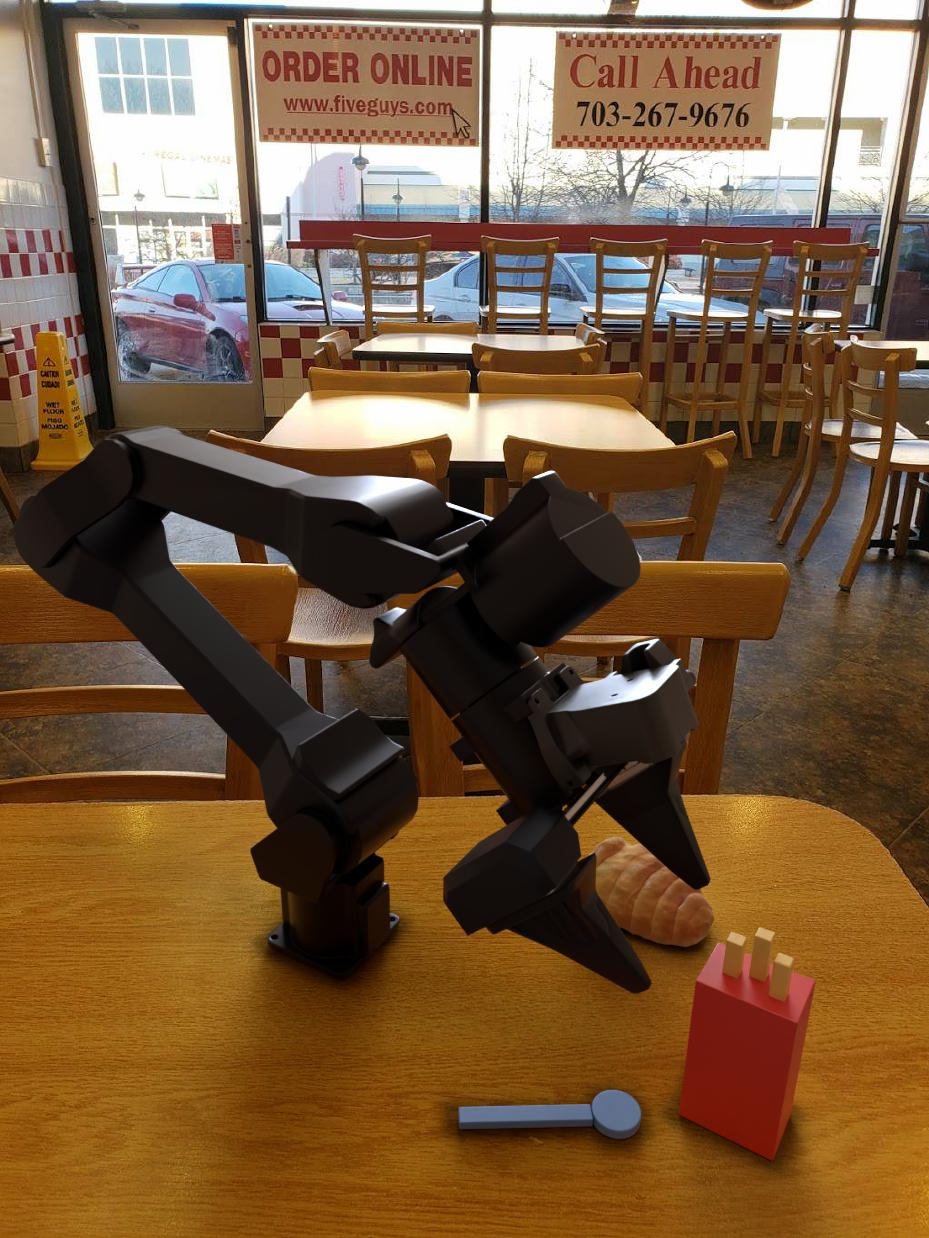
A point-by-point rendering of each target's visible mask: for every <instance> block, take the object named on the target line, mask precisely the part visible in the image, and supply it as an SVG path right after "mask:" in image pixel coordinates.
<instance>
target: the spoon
mask: <svg viewBox="0 0 929 1238" xmlns="http://www.w3.org/2000/svg"><path fill="white" fill-rule="evenodd" d="M457 1113H458V1129H459V1130H489V1129H490V1130H491V1129H492V1130H493V1129H494V1130H495V1129H534V1128H535V1129H537V1128H541V1129H542V1128H577V1127H578V1128H582V1127H583V1128H584V1127H585V1128H586V1127H593V1125H594V1127H595V1128H596V1130H597V1131H598V1132H599V1133H601V1134H602V1135H604V1136H606V1137H607V1138H610V1139H614V1140H624V1139H628V1138H631V1137H633V1136H634V1135H635V1134H637V1132H638V1131H639V1129H640V1128H641V1122H642V1110H641V1107H640V1105H639V1103H638V1101H637V1100H636V1099H635V1098H634V1097H633V1096H631V1095H630V1094H629V1093H627V1092H624V1091H622V1090H618V1089H606V1090H603V1091H601V1092H600V1093H598V1094H597V1095H596V1096H595V1097H594V1098H593V1100H592V1102H591V1104H590V1103H584V1104H583V1103H582V1104H577V1103H576V1104H539V1105H538V1104H537V1105H536V1104H535V1105H495V1106H494V1105H493V1106H487V1105H486V1106H458V1112H457Z"/></svg>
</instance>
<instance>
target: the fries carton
mask: <svg viewBox="0 0 929 1238" xmlns="http://www.w3.org/2000/svg"><path fill="white" fill-rule="evenodd" d="M775 938H776V932H775V931H771V930H770V929H767V928H763V927H761V926H760V927H758V929H757V931H756V933H755V934H754V939H753V946H752V951H751V954H749V953H746V948H747V941H748V937H746V936H744V935H741V934H739V933H737V932H734V931H731V932H730V933H729V935H728V938H727V939H726V941H725V942H726V943H724V944H723V943H721V942H718V943H716V946H715V947H714V949H713V951H712V952H711V954H710V955H709V957H708V959H707V960H706V963H705V964H704V966H703V967H702V969H701V971H700V973H699V975H698V977H697V978H696V980H695V984H694V991H693V992H694V993H693V999H692V1008H691V1015H690V1023H689V1032H688V1038H687V1045H686V1053H685V1063H684V1070H683V1078H682V1086H681V1093H680V1101H679V1108H678V1109H679V1110H678V1115H679V1116H680V1117H682V1118H684V1119H687V1120H688V1121H691V1122H692V1123H695V1124H697V1125H699V1126H701V1127H703V1128H705V1129H707V1130H708V1131H711V1132H713V1133H715V1134H716V1135H719V1136H721V1137H723V1138H725V1139H727V1140H729V1141H731V1142H733V1143H735V1144H737V1145H739V1146H741V1147H743V1148H745V1149H747V1150H749V1151H751V1152H752V1153H755V1154H757V1155H760V1156H761V1157H763V1158H766V1159H767V1160H769V1161H771V1162H772V1161H773V1162H774V1160H775V1157H776V1154H777V1152H778V1149H779V1147H780V1143H781V1142H782V1139H783V1137H784V1133H785V1131H786V1129H787V1125H788V1123H789V1120H790V1117H791V1115H792V1111H793V1105H794V1099H795V1095H796V1090H797V1083H798V1078H799V1072H800V1069H801V1062H802V1057H803V1051H804V1046H805V1040H806V1035H807V1031H808V1024H809V1019H810V1013H811V1008H812V1003H813V999H814V998H813V997H814V992H815V987H816V983H817V982H816V980H815V979H814V978H810V977H808V976H806V975H802V974H800V973H798V972H795V971H794V964H795V958H794V957H791V956H789V955H787V954H784V953H782V952H778V953H777V954H776V956H775V959H774V961H773V963H772V957H773V951H774V945H775Z"/></svg>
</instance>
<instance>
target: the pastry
mask: <svg viewBox="0 0 929 1238" xmlns="http://www.w3.org/2000/svg"><path fill="white" fill-rule="evenodd" d="M593 853H596V856H597V862H596V892H597V894H598V896H599V897H600V898H601V900H602V902H603V903H604V905H605V906H606V908H607V909H608V911H609V912H610V914H611V915H612V917H613V918H614V920H615V922H616V923H617V925H618V926H619V928H620V929H624V930H625V931H627V932H629V933H630V934H632V935H633V936H634V935H637V936H639V937H641V938H642V939H643V940H649V941H650V942H653V943H656V944H662V945H666V946H667V945H668V946H669V945H672V946H679V947H683V948H687V947H690V946H694V945H696V944H698V943H699V942H701V941H702V940H703V939H705V938H706V937H707V935H708V933H709V931H710V929H711V927H712V925H713V923H714V921H715V915H714V912H713V907H712V906H711V905H710V903H709V902H708V900H707V899H706V898H705V896H704V895H703V893H702V890H701V889H699V890H694V889H693V888H691V887H690V886H689V885H688V884H686V883H685V882H684V881H682V880H681V879H680V878H679V877H677V876H676V875H675V874H674V873H672V872H671V871H670V870H669V869H668V868H667V867H666V866H665V865H663V864H662V863H661V862H660V861H659V860H658V859H657V858H656V857H655V856H654V855H653V854H651V853H650V852H649V851H648V850H647V849H646V848H645V847H644V846H643V845H642V844H640V843H636V844H634V845H632V844H630V843H629V842H627V841H626V840H625V839H624V838H623V837H620V836H612V837H608V838H606V839H605V840H603V841H601V842H599V843H598V844H596V846H595V847H594V849H593V850H592V852H590V853H589V854H588V855H587V856H589V855H591V854H593Z"/></svg>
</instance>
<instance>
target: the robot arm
mask: <svg viewBox="0 0 929 1238" xmlns="http://www.w3.org/2000/svg"><path fill="white" fill-rule="evenodd" d="M171 513H174V514H176V515H179V516H182V517H184V518H188V519H190V520H193V521H196V522H199V523H201V524H204V525H207V526H210V527H212V528H216V529H219V530H221V531H223V532H224V531H225V532H227V533H230V534H233V535H235V536H237V537H240V538H243V539H247V540H250V541H252V542H255V543H258V544H259V545H260V544H261V545H263V546H266V547H268V548H271V549H273V550H275V551H277V552H279V553H280V554H282V555H284V556H285V557H287V559H288V560H289V562H290V564H291V565H292V567H293V568H294V570H295V571H296V573H297V575H298V576H299V577H300V578H301V579H302V580H304V581H305V582H307V583H309V584H310V585H312V586H314V587H315V588H316V589H318V590H321V591H322V592H324V593H326V594H328V595H329V596H331V597H333V598H334V599H336V600H338V601H339V602H341V603H342V604H345V605H347V606H349V607H351V608H355V609H360V610H369V609H373V608H374V609H375V608H376V607H379V606H380V605H383V604H385V603H387V602H390V601H392V600H393V599H395V598H397V597H400V596H402V595H416V594H419V593H421V592H423V591H425V590H427V589H428V588H430V589H429V590H427V591H425V592H424V594H423V595H421V596H420V597H419V598H418V599H417V600H416V601H415V602H413V604H412V605H410V606H409V607H408V608H407V609H404V608H400V607H397V606H396V607H393V608H392V609H389V610H387V611H386V612H383V613H382V614H380V615H377V616H375V617H374V618H373V619H372V626H373V636H372V637H373V639H372V642H371V645H370V650H369V657H368V658H369V660H368V661H369V665H370V667H372V668H373V669H375V670H378V669H380V668H382V667H384V666H385V665H386V664H389V663H391V662H393V661H394V660H395V659H397V658H399V657H400V656H403V657H404V659H405V660H406V662H407V663H408V665H409V666H410V667H411V668H412V669H413V671H414V673H415V674H416V675H417V676H418V678H419V679H420V681H421V682H422V683H423V685H424V686H425V687H426V689H427V691H429V693H430V694H431V696H432V697H433V698H434V699H435V701H436V702H437V704H438V705H439V707H440V708H441V709H442V711H443V712H444V713H445V715H446V716H447V717H448V719H449V720H451V719H452V720H451V721H450V722H451V723H452V724H453V726H454V728H455V729H456V730H457V731H458V733H459V734H460V735H461V736H460V737H459V738H458V739H456V740H455V741H454V742H453V743H452V744H450V745H449V746H448V747H449V749H450V750H451V751H452V753H453V755H454V756H455V757H456V758H457V760H458V761H459V762H460V763H461V762H463V761H465V759H467V758H469V757H470V756H472V755H473V754H475V756H476V757H477V758H478V760H479V762H480V763H481V764H482V765H483V767H484V768H485V770H486V771H487V772H488V773H489V775H490V776H491V778H492V779H493V780H494V782H495V784H497V786H498V787H499V789H500V790H501V791H502V793H503V794H504V795H505V797H506V798H507V799H506V800H505V801H504V802H503V803H502V804H501V805H500V806H499V807H498V808H497V809H496V810H495V812H496V813H497V815H498V816H499V817H500V818H501V820H502V821H503V823H504V824H505V826H503V827H501V828H500V829H498V830H497V831H494V832H493V833H491V834H490V835H487V836H486V837H485V838H483V839H481V840H480V841H478V842H477V844H475V846H473V847H472V848H471V849H470V850H469V851H468V852H467V854H465V855H464V856H463V857H462V858H461V860H459V861H458V862H457V863H456V864H455V865H454V866H453V867H452V868H451V869H450V870H449V871H448V872H447V873H446V874H445V875H444V876H443V877H442V878H443V879H442V901H443V904H444V905H445V907H446V908H447V909H448V910H449V912H450V913H451V915H452V917H454V919H455V920H456V922H457V923H458V925H459V926H460V927H461V929H462V930H463V932H464V933H465V934H466V936H467V937H468V936H471V935H473V934H474V933H476V932H479V931H480V930H482V929H485V928H486V930H487V931H488V932H489V933H490V934H491V935H497V934H499V933H501V932H503V931H505V930H507V931H509V932H511V933H514V934H516V935H518V936H521V937H523V938H525V939H528V940H530V941H531V942H534V943H536V944H539V945H541V946H544V947H545V948H548V949H550V950H552V951H554V952H556V953H558V954H559V955H562V956H564V957H566V958H568V959H570V960H571V961H573V962H574V963H577V964H578V965H580V966H583V967H584V968H585V969H588V970H589V971H591V972H593V973H595V974H597V975H598V976H600V977H602V978H604V979H605V980H608V981H609V982H611V983H613V984H615V985H617V986H618V987H620V988H622V989H623V990H625V991H627V992H629V993H631V994H633V995H638V994H641V993H644V992H646V991H648V990H649V989H651V986H652V984H653V983H652V979H651V977H650V975H649V973H648V972H647V970H646V968H645V966H644V964H643V963H642V960H641V959H640V957H639V955H638V954H637V953H636V951H635V949H634V947H633V946H632V944H631V943H630V941H629V940H628V938H627V937H626V935H625V934H624V932H623V930H622V928H619V926H618V925H617V923H616V922H615V920H614V918H613V917H612V915H611V914H610V912H609V911H608V909H607V908H606V906H605V905H604V903H603V902H602V900H601V898H600V897H599V896H598V894H597V892H596V862H597V856H596V853H593V854H591V853H590V854H591V855H589V854H588V855H589V856H588V855H586V856H585V857H583V858H582V851H581V850H582V849H581V843H580V837H579V832H578V831H577V830H576V829H575V827H574V826H575V825H576V824H577V823H578V822H579V820H580V819H581V818H582V817H583V816H584V815H585V813H586V812H588V810H589V809H590V808H591V806H592V805H593V804H594V803H595V804H596V805H597V806H598V807H599V808H601V809H602V810H603V811H604V812H605V813H606V814H607V815H608V816H609V817H610V818H611V819H613V820H614V821H615V822H616V823H617V824H618V825H619V826H621V828H623V829H624V830H625V831H626V832H627V833H628V834H629V835H630V836H631V837H633V838H634V839H635V841H637V842H638V844H642V845H643V846H644V847H645V848H646V849H647V850H648V851H649V852H650V853H651V854H653V855H654V856H655V857H656V858H657V859H658V860H659V861H660V862H661V863H662V864H663V865H665V866H666V867H667V868H668V869H669V870H670V871H671V872H672V873H674V874H675V875H676V876H677V877H679V878H680V879H681V880H682V881H684V882H685V883H686V884H688V885H689V886H690V887H691V888H693V889H694V890H699V889H700V890H701V889H703V888H705V887H707V886H709V885H710V883H711V881H712V880H711V876H710V872H709V870H708V867H707V864H706V861H705V859H704V856H703V853H702V851H701V848H700V845H699V842H698V840H697V836H696V835H695V832H694V829H693V825H692V823H691V820H690V818H689V815H688V812H687V808H686V807H685V803H684V800H683V797H682V793H681V790H680V786H679V774H680V768H681V764H682V759H683V755H684V752H685V751H686V748H687V739H686V737H687V735H689V733H690V732H694V731H696V729H697V728H698V726H699V721H698V718H697V715H696V712H695V708H694V706H693V704H692V700H691V698H690V695H689V692H690V691H691V690H692V689H693V687H694V686H695V685H696V683H697V677H696V675H695V674H694V672H693V671H691V670H689V669H686V668H685V666H684V663H683V660H682V658H678V657H677V656H676V655H675V653H673V652H672V651H671V650H670V649H669V648H668V647H667V646H666V644H665V643H663V642H662V641H661V639H660V638H655V639H650V640H647V641H642V642H637V643H635V644H634V645H632V646H631V647H630V648H629V649H628V650H627V651H626V652H625V653H624V654H623V655H622V657H621V665H620V671H619V672H620V674H619V673H618V671H613V672H610V673H609V674H608V675H607V676H606V677H604V678H602V679H599V680H598V679H597V680H594V681H591V682H585V680H583V678H582V677H580V675H579V674H578V672H577V671H576V670H575V668H573V666H570V665H566V664H565V662H563V661H561V662H560V663H559V664H558V665H556V666H555V667H553V668H552V669H551V670H549V668H548V667H547V666H546V665H545V663H544V662H543V660H542V659H541V658H540V657H539V656H538V654H537V653H536V651H535V649H534V648H543V649H544V648H547V647H551V646H553V645H555V644H556V643H557V642H558V641H560V640H561V639H563V638H564V637H565V636H567V635H568V634H570V633H571V632H572V631H573V630H575V629H576V628H578V627H579V626H580V625H581V624H583V623H585V622H586V621H587V620H589V619H591V618H592V617H593V616H594V615H595V614H597V613H598V612H600V611H601V610H602V609H603V608H605V607H606V606H607V605H609V604H610V603H612V602H613V601H614V600H616V599H617V598H618V597H620V596H621V595H622V594H624V593H625V592H627V591H628V590H629V589H630V588H632V587H633V586H635V585H636V584H637V583H638V581H639V579H640V577H641V570H642V569H641V560H640V555H639V553H638V549H637V547H636V545H635V542H634V541H633V539H632V537H631V535H630V533H629V532H628V530H627V529H626V527H625V526H624V524H623V523H622V522H621V520H620V519H619V518H618V516H617V515H616V514H615V513H614V512H613V511H607V510H606V509H605V508H604V507H603V506H602V505H600V504H599V503H598V502H597V501H596V500H594V499H593V498H592V497H590V496H589V495H587V494H585V493H583V492H581V491H580V490H576V489H573V488H570V487H568V486H567V485H566V484H565V483H564V481H563V480H562V479H561V477H560V476H559V475H558V473H557V472H556V471H555V470H549V471H546V472H544V473H541V474H538V475H536V476H534V477H531V478H530V479H529V480H528V481H527V482H525V484H524V485H523V486H521V487H520V488H519V489H518V490H517V491H516V492H515V494H514V495H513V497H512V499H511V500H510V502H508V505H507V506H505V507H504V509H502V510H501V511H500V512H499V513H498V514H496V515H495V516H494V517H491V516H489V515H487V514H482V513H480V512H477V511H474V510H470V509H467V508H464V507H461V506H459V505H455V504H452V503H450V502H447V501H446V495H445V494H444V493H443V492H442V491H441V490H439V489H438V487H437V486H434V485H432V484H431V483H429V482H426V481H424V480H421V479H417V478H407V477H405V478H404V477H393V476H381V475H352V476H351V475H350V476H348V475H347V476H326V475H315V474H312V473H308V472H305V471H301V470H299V469H295V468H292V467H289V466H285V465H282V464H278V463H275V462H271V461H269V460H265V459H262V458H258V457H255V456H252V455H249V454H246V453H242V452H240V451H236V450H232V449H229V448H226V447H223V446H220V445H216V444H213V443H211V442H210V443H209V442H208V441H207V442H206V441H203V440H199V439H196V438H193V437H190V436H186V435H184V434H183V432H181V431H179V430H178V429H176V428H175V427H174V428H173V427H172V428H171V427H169V426H167V425H154V426H148V427H143V428H137V429H131V430H126V431H125V430H124V431H120V432H114V433H111V434H109V435H108V436H107V435H106V437H105V439H102V440H101V441H100V442H98V443H96V445H95V446H94V448H92V449H91V451H90V452H89V453H88V455H87V456H86V457H85V458H84V459H82V460H81V461H80V462H78V463H77V464H75V465H74V466H73V467H71V468H69V469H67V470H66V471H65V472H64V473H62V474H61V475H59V476H57V477H55V478H54V479H53V480H52V481H49V482H48V483H47V484H45V485H44V486H43V487H42V488H41V489H40V490H39V491H38V492H37V493H36V494H33V495H30V496H28V497H27V498H26V499H25V500H24V501H23V502H22V505H21V507H20V509H19V514H18V515H19V516H18V517H17V518H16V519H15V522H14V524H13V529H12V530H13V531H12V536H13V541H14V546H15V548H16V550H17V552H18V554H19V557H21V559H22V560H23V561H24V563H25V564H27V565H28V567H29V568H30V570H32V571H33V572H34V573H35V574H36V575H37V576H39V577H40V578H41V579H42V580H43V581H45V583H47V584H48V585H49V586H51V587H52V588H54V590H56V591H57V592H58V593H59V594H60V595H62V596H63V597H64V598H66V599H68V600H71V601H74V602H77V603H81V604H83V605H87V606H89V607H92V608H95V609H98V610H101V611H104V612H107V613H110V614H112V615H113V616H115V617H116V618H117V619H118V621H120V623H121V624H123V626H124V627H125V628H126V629H127V630H128V631H129V632H130V633H131V634H132V635H133V636H134V637H135V638H136V639H137V640H138V642H140V644H141V645H142V646H143V647H144V648H145V649H146V650H147V651H148V653H150V654H151V655H152V656H153V658H154V659H155V660H156V661H157V662H158V663H159V664H160V665H161V666H162V667H163V668H164V669H165V670H166V671H167V673H169V674H170V676H171V677H172V678H173V679H174V680H175V681H176V682H177V683H178V685H180V686H181V687H182V689H183V690H185V692H186V693H187V694H188V695H189V696H190V697H191V698H192V699H193V700H194V701H195V702H196V703H197V704H198V706H200V708H201V709H202V710H203V711H204V712H205V713H206V714H207V715H208V716H209V717H210V718H211V719H212V721H214V722H215V724H216V725H217V726H218V727H219V728H220V729H221V730H222V731H223V732H224V734H226V735H227V736H228V737H229V739H231V740H232V741H233V743H234V744H235V745H236V746H237V747H238V748H239V749H240V750H241V751H242V752H243V753H244V755H246V756H247V757H248V758H249V759H250V761H251V762H252V763H253V764H254V766H255V767H256V768H257V770H258V775H259V779H260V784H261V785H260V786H261V789H262V795H263V799H264V805H265V811H266V815H267V816H268V818H269V820H270V821H271V822H272V823H273V825H274V826H275V827H276V828H275V829H274V830H273V831H271V832H270V833H269V834H267V835H266V836H264V838H262V839H261V840H260V841H259V842H256V843H255V844H254V845H253V846H252V847H250V850H249V851H250V852H249V853H250V855H251V858H252V861H253V864H254V867H255V870H256V872H257V875H258V877H259V879H260V880H261V881H262V882H263V881H264V882H266V883H268V884H269V885H272V886H274V887H277V888H279V891H280V904H281V905H280V906H281V919H282V923H280V924H279V925H278V926H277V927H276V928H275V929H274V930H272V931H271V932H270V933H269V934H267V936H266V945H267V946H268V947H270V948H272V949H274V950H275V951H278V952H280V953H282V954H284V955H287V956H289V957H290V958H292V959H295V960H297V961H299V962H301V963H303V964H305V965H307V966H309V967H312V968H314V969H316V970H318V971H320V972H322V973H324V974H326V975H328V976H331V977H333V978H335V979H337V980H345V979H347V978H348V977H349V976H350V975H352V973H353V972H355V971H356V969H358V968H359V966H361V965H362V964H363V963H364V962H365V961H366V959H368V958H369V957H370V956H372V955H373V954H374V952H375V951H376V950H378V948H379V947H380V946H382V944H384V942H386V940H388V939H389V937H390V936H391V935H392V934H393V932H394V931H396V930H397V928H398V927H399V926H400V917H399V916H398V915H397V914H394V913H392V912H391V892H390V891H391V890H390V889H391V888H390V884H389V883H387V882H385V881H386V880H385V878H386V877H385V858H384V857H383V856H381V855H378V854H376V852H377V851H378V850H379V849H381V848H382V847H383V846H384V845H386V844H387V843H388V842H389V841H392V840H394V839H395V838H396V837H397V836H398V835H399V833H400V831H401V830H402V829H403V828H405V827H406V826H407V825H408V824H409V823H410V822H412V821H413V820H414V818H415V816H416V814H417V812H418V810H419V809H418V808H419V800H420V797H419V792H418V787H417V784H418V782H419V780H418V777H417V775H416V773H415V771H414V769H413V768H412V766H411V765H410V764H409V763H408V761H407V760H406V759H405V758H404V757H402V755H403V754H404V753H405V752H406V749H405V747H404V746H401V744H398V743H396V742H394V741H393V740H391V738H389V737H388V736H387V735H385V734H384V732H383V731H382V730H381V729H380V727H379V726H378V725H377V724H376V723H375V721H374V720H373V719H372V717H371V716H370V715H369V714H367V713H366V712H364V711H362V709H360V708H354V709H353V710H350V711H349V712H348V713H346V714H345V715H343V716H342V717H340V718H336V717H333V716H330V715H327V714H324V713H322V712H320V711H317V710H316V709H315V708H314V707H313V706H312V705H310V703H309V702H307V701H306V700H305V698H303V696H301V694H300V693H299V692H298V691H297V690H296V689H295V688H294V687H293V686H292V685H291V684H290V683H289V682H288V681H287V680H286V679H285V678H284V677H283V676H282V675H281V673H280V672H278V670H276V669H275V667H273V665H272V664H270V663H269V662H268V660H267V659H265V658H264V657H263V655H262V654H260V652H259V651H258V650H257V649H256V648H255V647H254V646H253V645H252V644H251V643H250V642H249V641H248V639H246V638H245V637H244V636H243V635H242V634H241V632H239V631H238V630H237V629H236V627H235V626H234V625H232V624H231V622H230V621H228V619H226V618H225V616H223V614H222V613H221V611H219V610H218V609H217V608H216V607H215V606H214V605H213V604H212V603H211V602H210V600H208V598H206V597H205V596H204V595H203V594H202V593H201V592H200V591H199V589H197V588H196V586H195V585H194V584H193V583H192V582H190V580H189V579H188V578H187V577H185V575H184V574H183V573H182V572H181V571H180V570H179V569H178V568H177V567H176V566H175V564H174V563H173V561H172V557H171V550H170V546H169V545H170V544H169V538H168V532H167V527H166V525H165V523H164V522H163V521H164V520H165V519H166V517H168V515H169V514H171ZM456 574H459V576H460V577H461V579H462V581H463V583H462V584H461V585H460V586H458V587H454V586H447V585H440V586H436V587H435V586H434V585H437V584H439V583H441V582H443V581H445V580H446V579H448V578H451V577H453V576H455V575H456ZM432 586H434V587H433V588H431V587H432ZM529 661H530V662H529ZM565 806H566V807H565ZM564 807H565V808H564Z"/></svg>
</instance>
